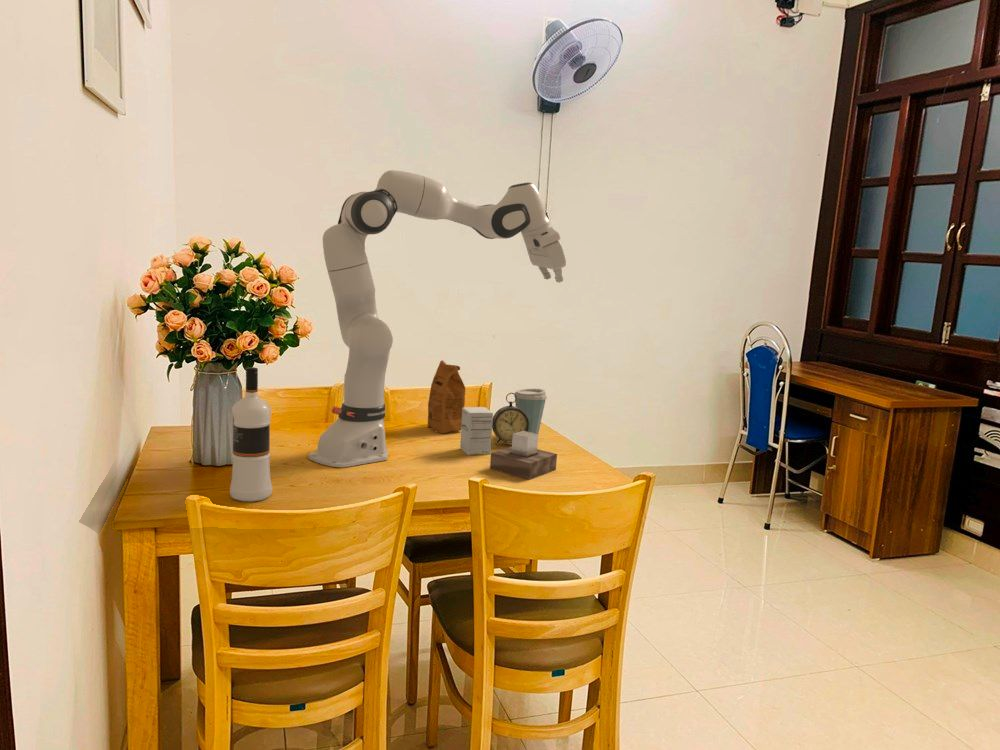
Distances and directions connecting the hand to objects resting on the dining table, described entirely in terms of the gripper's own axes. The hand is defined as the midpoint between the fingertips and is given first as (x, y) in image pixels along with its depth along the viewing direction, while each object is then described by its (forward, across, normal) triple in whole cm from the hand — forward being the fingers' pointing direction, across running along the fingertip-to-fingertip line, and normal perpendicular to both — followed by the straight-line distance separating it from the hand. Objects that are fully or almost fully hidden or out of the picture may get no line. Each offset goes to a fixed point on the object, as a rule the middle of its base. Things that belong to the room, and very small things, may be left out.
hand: (553, 280), depth 226 cm
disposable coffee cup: (+46, -10, -22) cm, 52 cm away
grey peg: (+39, +25, -35) cm, 58 cm away
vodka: (+8, +36, -99) cm, 106 cm away
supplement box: (+36, +6, -42) cm, 56 cm away
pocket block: (+39, +25, -35) cm, 58 cm away
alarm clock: (+42, 0, -31) cm, 52 cm away
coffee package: (+36, -20, -45) cm, 61 cm away
